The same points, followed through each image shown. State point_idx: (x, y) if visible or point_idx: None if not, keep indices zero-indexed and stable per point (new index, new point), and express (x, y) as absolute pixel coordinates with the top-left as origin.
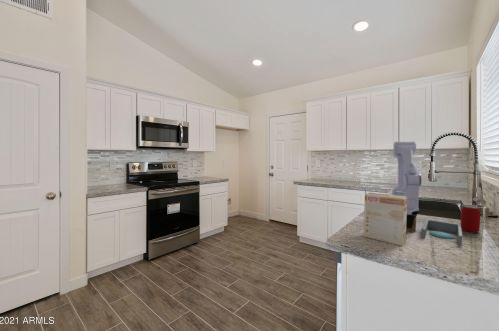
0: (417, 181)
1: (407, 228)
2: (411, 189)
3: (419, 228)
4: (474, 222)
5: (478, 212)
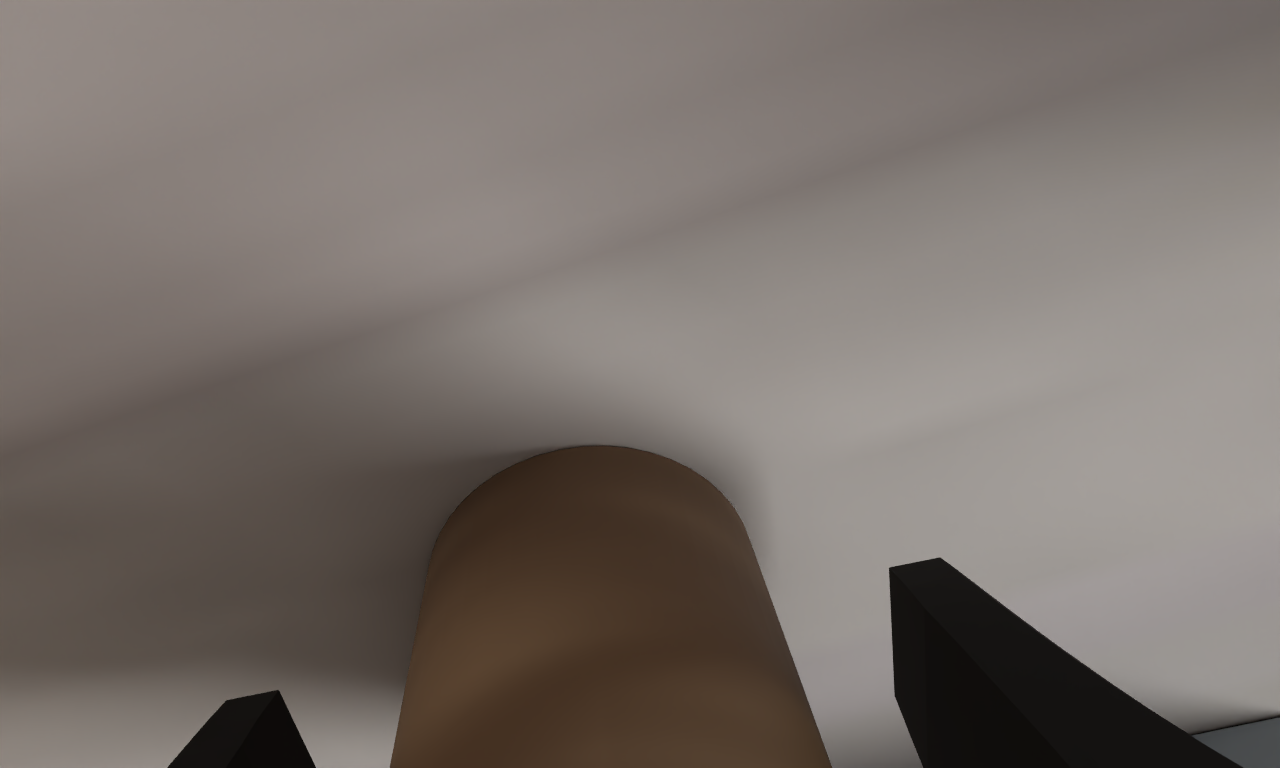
0: None
1: (417, 627)
2: None
3: None
4: None
5: None
